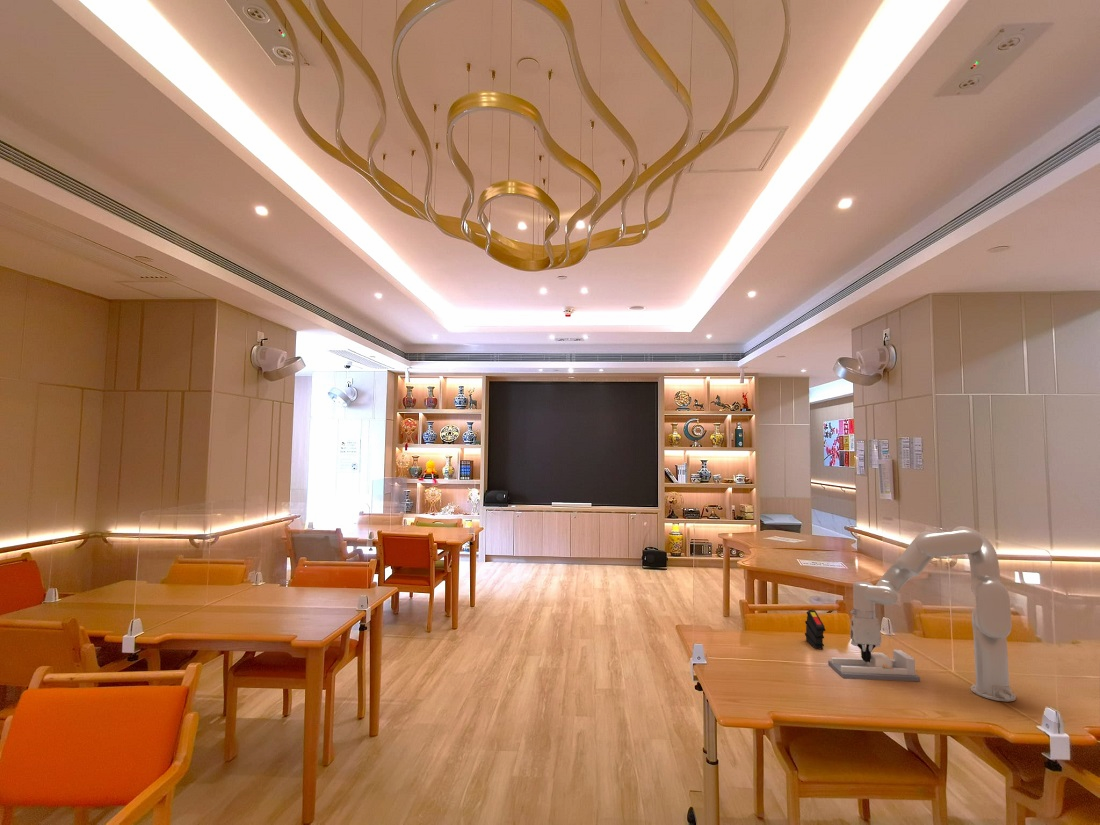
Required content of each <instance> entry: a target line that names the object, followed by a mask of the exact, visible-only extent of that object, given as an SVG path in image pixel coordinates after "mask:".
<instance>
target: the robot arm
mask: <svg viewBox="0 0 1100 825" xmlns="http://www.w3.org/2000/svg"><path fill="white" fill-rule="evenodd" d="M960 555H962V556H963V555H967V556H968V560H969V561H968V562H969V569H970V589H971V592H972V594H973V595H974V596H975V606H974V607H973V609H972V611H971V615H970V616H971V618H970V619H971V626H972V632H973V633H972V634H973V635H972V636H973V650H974V651H973V652H974V673H975V684H974V683H973V684H972V685H970V690H971V692H973V693H974V694H975V695H977V696H979V697H982V698H985V699H989V700H992V701H998V702H1006V703H1009V702H1014V701H1016V699H1017V698H1016V697H1017V696H1016V694H1015V693H1013V692H1012V691H1011V690H1012V689H1011V688H1012V687H1010V673H1009V672H1010V671H1009V657H1008V654H1009V652H1008V651H1009V650H1008V639H1007V637H1008V636H1009V635H1010V634H1011V632H1012V627H1013V626H1012V622H1013V620H1012V611H1011V601H1010V600H1011V599H1010V594H1009V591H1008V589H1007V588H1006V586H1005V585H1004V584H1003V583H1002V580H1001V570H1000V565H999V558H998V554H997V551H996V548H995V547H994V546H993V544H992V543H991V542H990V540H989V539H988V538H987V537H986V536H984V534H982V533H981V532H979V531H977V530H976V529H973V528H972V527H968V526H964V525H962V526H961V525H960V526H956V527H955V528H953V529H952V530H951V531H947V532H946V531H945V532H934V531H933V532H932V531H928V530H925V531H921V532H920V533H918V534H917V536H915V537H914V539H913V540H912V541H911V543H910V544H909V545H908V546H907V548H906V549H904V551H903V552H902V553H901V555H900V556H899V557H898V558H897V559H896V560H895V562H894V563H893V564H892V565H891V566H890V567H889V568H888V569H887V570H886V571H885V573H884V574H882V576H881V577H880V578H879V580H878V581H877V582H876V583H875V585H874V584H873V583H872V582H868V581H861V580H858V581H857V580H856V581H855V582H853V584H852V594H853V595H852V596H853V598H852V599H853V600H852V602H853V609H852V610H850V611H849V612H850V614H851V615H852V616H851V621H850V639H851V641H850V644H851V645H852V646H855V647H858V648H859V650H860V655H861V656H860V658H861V659H863V660H864V661H865V662H870V659H871V652H873V651H874V649H875V648H878V647H881V644H882V640H883V639H882V631H881V625H880V622H879V618H878V617H876V616H877V615H876V604H879V605H882V606H883V605H884V606H893V605H895V604H896V603H897V602H898V592H899V591H900V590H901V589H902V587H904V585H906V583H907V582H908V581H909V580H911V579H912V578H916V577H917V576H919V575H920V574H922V572H923V571H924V569H925V568H926V567H927V566H928V565H929V564H930V562H931V561H932V560H933V559H934V558H938V557H949V556H951V557H952V556H960Z"/></svg>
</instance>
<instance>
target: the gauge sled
mask: <svg viewBox="0 0 1100 825" xmlns="http://www.w3.org/2000/svg"><path fill="white" fill-rule="evenodd" d="M892 660H893V659H892V658H891V657H889V656H888V655H887V654H886V653H884V652H876V651H875V652H873V651H872V652H871V659H870V662H868V665H869V666H870V667H885V668H888V667H890V668H892Z"/></svg>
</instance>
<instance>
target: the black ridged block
mask: <svg viewBox="0 0 1100 825" xmlns="http://www.w3.org/2000/svg"><path fill="white" fill-rule="evenodd" d="M806 615H807V616H806V620H805V621H804V624H805V625H806V628H805V632H804V636H805V641H806V642H807V643H808V644H809V645H810V646H812V647H813V648H814V649H816V650H823V649H824V647H825V644H824V643H823V642H824V641H823V640H824V639H825V637H824V632H826V629H825V625H824V623H823V621H822V620H821V618H820V616H819V614H818V613H817V611H816V610H815V609H808V610H807V611H806Z"/></svg>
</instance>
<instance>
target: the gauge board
mask: <svg viewBox="0 0 1100 825" xmlns="http://www.w3.org/2000/svg"><path fill="white" fill-rule="evenodd" d="M892 658H893V659H892V668H890V667H888V668H885V667H870V666H869V665H868V662H865V661H864V660H863V659H862V658H853V657H832V656H831V660H827V663H828V664H827V665H828V666H830V667H831V668H832V669H833V670H834V671H835V672H836V673H837V674H838V675H839V676H841V678H842V679H850V680H851V679H855V680H856V679H857V680H875V681H876V680H879V681H896V682H897V681H899V682H903V681H904V682H921V678H920V676H919V675H917V674H916V659H915V658H914V657H912V656H911V655H909V654H908V653H906V652H904V651H903V650H901V649H892Z"/></svg>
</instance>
